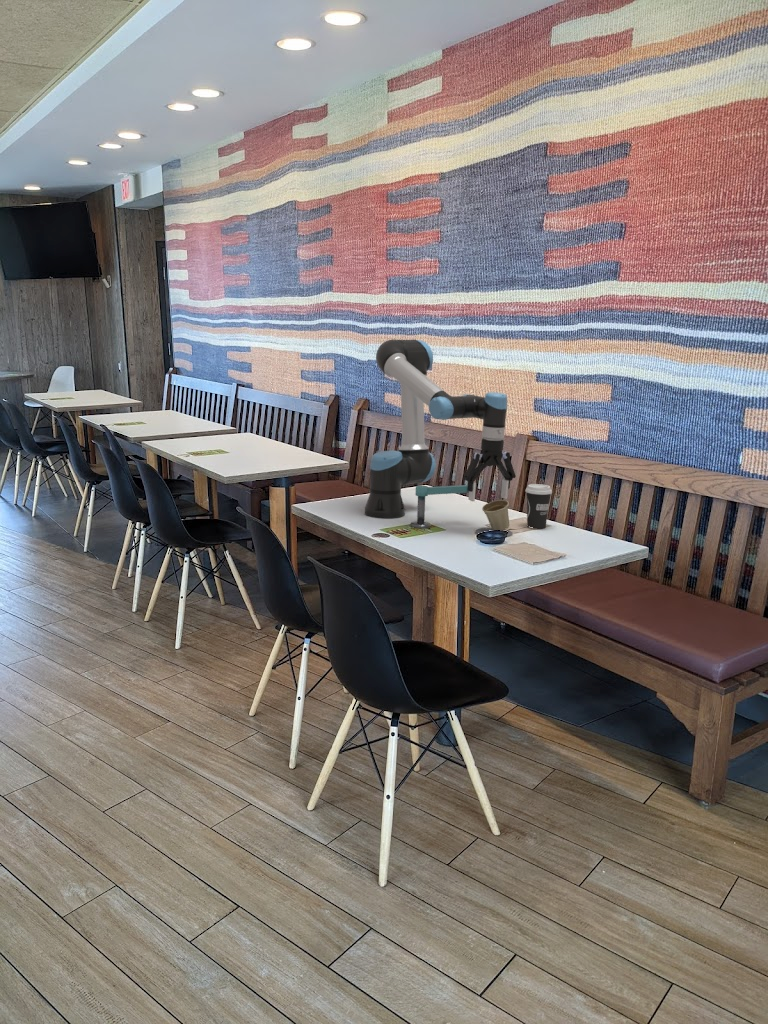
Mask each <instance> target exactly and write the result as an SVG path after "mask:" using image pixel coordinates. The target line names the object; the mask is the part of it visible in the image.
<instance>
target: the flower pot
mask: <svg viewBox="0 0 768 1024" xmlns="http://www.w3.org/2000/svg"><path fill="white" fill-rule="evenodd" d="M509 503H510V502H509V501H508V500H507V499H498V500H492V501H490V502H488V503H486V504H484V505H483V506H482V508H481V509H482V512H484V514H485V515H486V518H487V520H488V523H489V525H490V528H492V530H500V531H503V530H504V529H506V530H508V529H509V527H510V518H509V517H510V516H509V505H510V504H509Z"/></svg>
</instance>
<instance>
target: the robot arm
mask: <svg viewBox="0 0 768 1024" xmlns="http://www.w3.org/2000/svg"><path fill="white" fill-rule="evenodd" d="M375 361H376V365H377V366H378V368H379V370H380V371H381V372H382V373H383V374H385V376H387V377H388V378H394V379H395V380H396V381H397V382H398V383H400V407H401V412H400V413H401V414H400V415H401V439H402V440H401V443H402V444H401V445H400V446H399V448H398V450H382V451H378V452H376V453H374V454H373V455H371V459H370V465H369V470H370V473H369V474H370V476H369V478H370V479H369V495H368V498H367V500H366V504H365V506H364V514H365V515H366V516H369V517H371V518H376V519H377V518H378V519H396V518H401V517H404V516H405V514H406V507H405V505H404V501H403V498H402V492H401V491H402V486H404V485H405V486H407V485H411V484H412V485H413V484H421V483H425V482H427V481H430V480H431V479H432V477H433V476H434V474H435V472H436V467H437V465H436V459H435V457H434V455H433V454H432V453H431V452H430V448H429V446H428V445H426V443H425V435H426V434H425V408H424V407H425V405H426V406H427V407H428V412H429V414H430V416H431V417H432V418H433V419H435V420H442V421H447V420H455V419H472V418H473V419H474V418H475V419H480V420H483V421H482V433H481V437H482V439H481V445H480V448H481V452H480V453H477V452H473V453H472V459H471V461H470V462H469V464H468V467H467V469H466V470H465V471H466V472H465V473H464V476H463V478H462V479H463V480H464V481H467V485H468V491H469V493H468V499H467V500H469V501H470V502H475V501H476V490H477V489H476V488H477V482H475V481H476V479H478V477H479V476H480V475H481V473H482V472H483V470H484V469H485V468H487V467H491V466H492V467H497V469H498V470H499V472H500V473H501V475H502V476H503V479H502V481H501V490H500V491H501V492H500V493H501V494H500V498H503V500H508V494H509V489H511V488H510V486H511V482H512V481H513V480H514V479H515V478H516V477H517V475H516V473H515V470H514V467H513V464H512V461H511V452H508V451H503V450H504V444H505V441H504V439H505V432H506V431H505V430H506V421H507V420H506V419H507V411H508V396H507V394H505V393H503V392H487V393H486V394H485V396H478V395H475V394H463V395H461V396H454V395H453V396H452V395H450V394H449V393H448V392H446V391H445V390H443V389H442V388H441V387H440V386H439V385H438V384H436V382H434V381H432V380H431V379H430V378H428V371H429V370H430V369H431V367H432V365H433V364H434V353H433V350H432V348H431V346H430V345H429V344H428V342H426V341H424V340H420V339H387V340H385V341H384V342H382V344H380V346H379V347H378V349H377V350H376V353H375ZM502 459H503V462H502Z"/></svg>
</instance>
